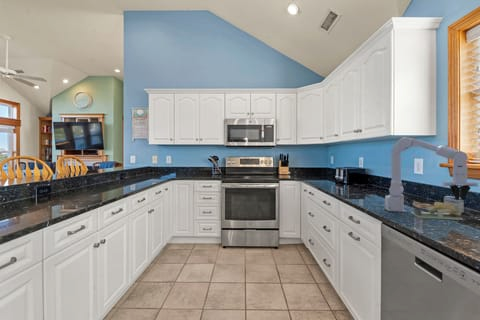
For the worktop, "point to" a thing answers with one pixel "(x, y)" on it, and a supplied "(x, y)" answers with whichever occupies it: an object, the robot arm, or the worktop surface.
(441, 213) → the stand
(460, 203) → the medicine box
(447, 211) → the flat elongated piece
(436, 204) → the slider
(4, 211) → the worktop surface
